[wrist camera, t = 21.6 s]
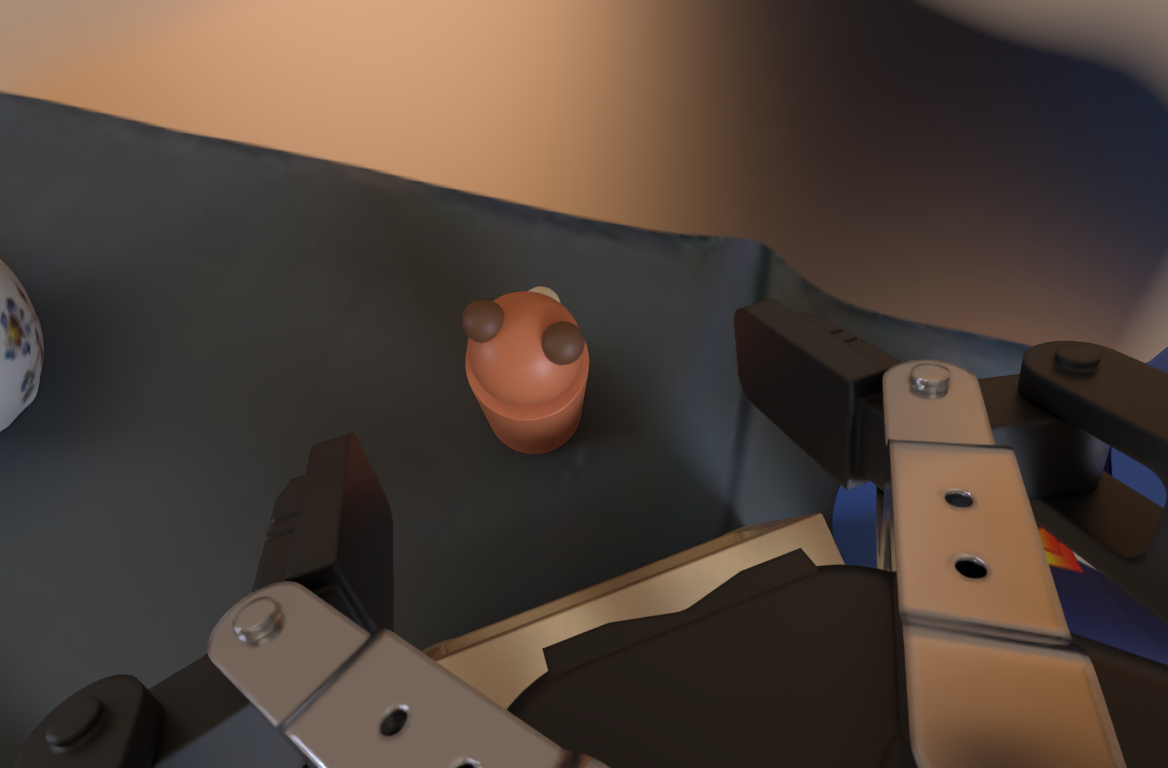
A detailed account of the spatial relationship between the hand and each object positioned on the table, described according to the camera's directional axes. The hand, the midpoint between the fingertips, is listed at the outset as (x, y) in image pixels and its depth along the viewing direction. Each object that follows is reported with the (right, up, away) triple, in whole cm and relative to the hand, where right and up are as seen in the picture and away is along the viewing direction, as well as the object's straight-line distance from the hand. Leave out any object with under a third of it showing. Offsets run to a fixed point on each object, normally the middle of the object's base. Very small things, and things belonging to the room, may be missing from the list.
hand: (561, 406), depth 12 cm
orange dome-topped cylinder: (-2, -1, +18) cm, 19 cm away
